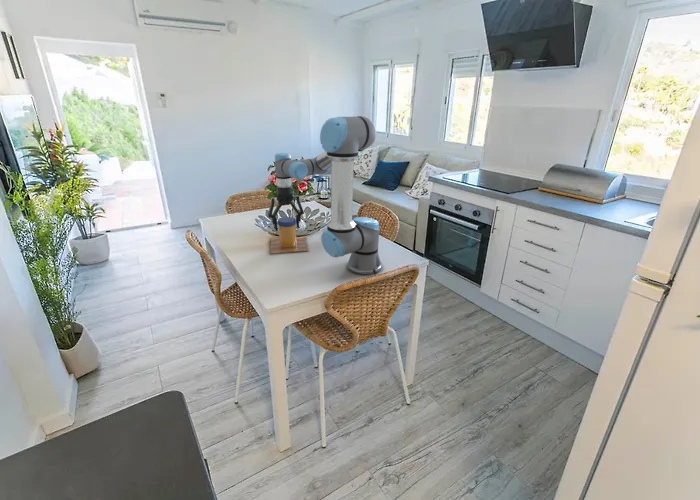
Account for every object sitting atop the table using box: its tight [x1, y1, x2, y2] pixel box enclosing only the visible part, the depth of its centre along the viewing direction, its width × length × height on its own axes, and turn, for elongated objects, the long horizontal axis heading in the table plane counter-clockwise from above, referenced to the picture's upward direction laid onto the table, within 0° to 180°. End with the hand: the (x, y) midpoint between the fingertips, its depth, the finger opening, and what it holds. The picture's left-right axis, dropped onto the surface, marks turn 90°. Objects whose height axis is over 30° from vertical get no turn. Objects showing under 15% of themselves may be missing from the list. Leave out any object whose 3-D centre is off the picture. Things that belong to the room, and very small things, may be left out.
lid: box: [277, 216, 296, 227], centre depth 176 cm, size 9×9×2 cm
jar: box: [278, 224, 297, 247], centre depth 179 cm, size 8×8×13 cm
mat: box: [270, 236, 308, 255], centre depth 181 cm, size 20×18×1 cm
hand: (287, 228), depth 178 cm, fingers open, 10 cm apart
